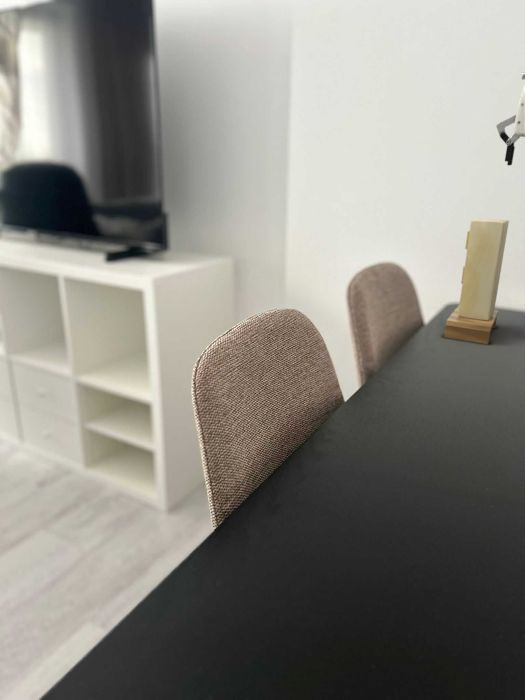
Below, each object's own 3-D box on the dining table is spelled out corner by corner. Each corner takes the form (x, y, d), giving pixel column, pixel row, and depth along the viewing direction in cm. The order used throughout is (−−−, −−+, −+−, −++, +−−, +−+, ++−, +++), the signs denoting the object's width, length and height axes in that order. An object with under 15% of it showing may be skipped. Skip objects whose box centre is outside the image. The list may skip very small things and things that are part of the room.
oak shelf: (456, 320, 127) (458, 305, 125) (495, 326, 122) (498, 310, 121) (444, 337, 113) (446, 320, 112) (487, 344, 109) (491, 326, 108)
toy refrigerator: (460, 309, 122) (474, 218, 115) (493, 313, 118) (510, 220, 111) (453, 316, 115) (467, 220, 108) (488, 321, 111) (505, 222, 105)
